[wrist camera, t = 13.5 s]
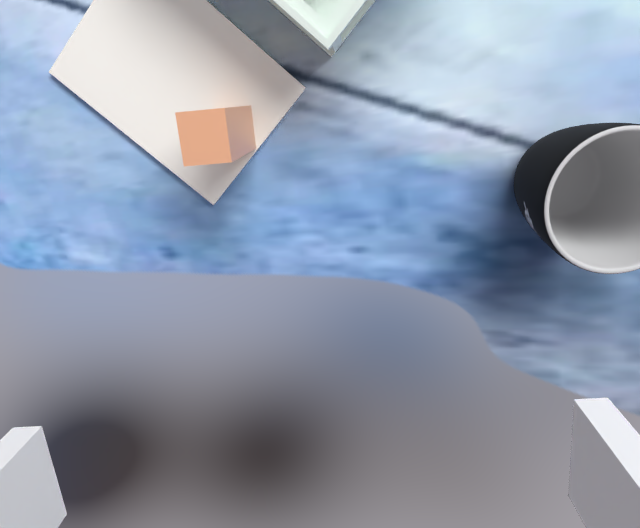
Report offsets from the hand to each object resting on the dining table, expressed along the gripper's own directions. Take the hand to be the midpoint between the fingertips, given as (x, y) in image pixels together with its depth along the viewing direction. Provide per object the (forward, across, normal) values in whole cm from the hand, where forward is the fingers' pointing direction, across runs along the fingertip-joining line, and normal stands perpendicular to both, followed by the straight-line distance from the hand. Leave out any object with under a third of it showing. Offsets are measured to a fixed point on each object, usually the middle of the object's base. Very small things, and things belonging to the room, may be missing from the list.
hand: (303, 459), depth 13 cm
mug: (+31, +18, 0) cm, 36 cm away
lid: (+31, -11, +11) cm, 35 cm away
